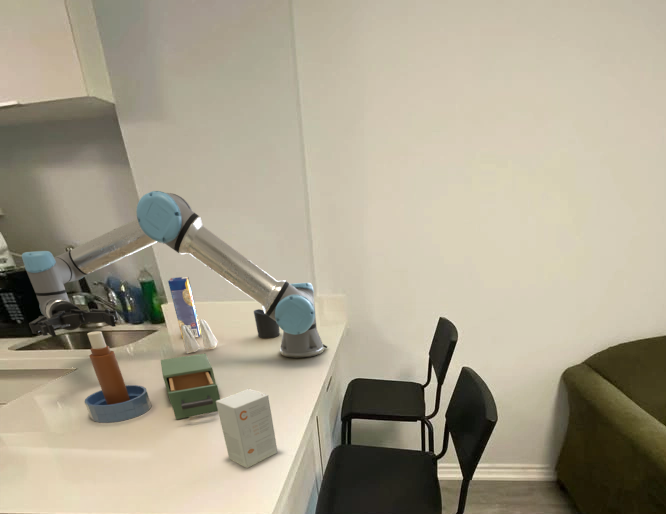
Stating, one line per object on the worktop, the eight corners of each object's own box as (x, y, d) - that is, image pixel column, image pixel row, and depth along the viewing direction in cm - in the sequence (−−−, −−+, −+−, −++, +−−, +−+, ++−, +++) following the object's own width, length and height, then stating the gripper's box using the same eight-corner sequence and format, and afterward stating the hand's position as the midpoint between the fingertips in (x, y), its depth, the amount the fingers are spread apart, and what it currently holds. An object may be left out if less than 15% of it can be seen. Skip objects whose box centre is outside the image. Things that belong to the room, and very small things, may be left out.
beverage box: (200, 331, 187) (188, 276, 176) (199, 336, 178) (186, 280, 167) (184, 332, 186) (170, 278, 174) (182, 338, 176) (168, 281, 165)
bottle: (137, 406, 113) (111, 329, 102) (125, 415, 108) (97, 335, 98) (118, 406, 113) (91, 329, 103) (105, 414, 109) (76, 335, 99)
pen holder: (270, 339, 170) (266, 313, 165) (252, 337, 174) (248, 311, 169) (285, 334, 177) (282, 308, 171) (268, 332, 181) (264, 307, 176)
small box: (259, 444, 93) (249, 387, 86) (278, 452, 89) (269, 394, 83) (228, 459, 88) (214, 400, 81) (247, 469, 84) (234, 408, 78)
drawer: (225, 416, 105) (219, 390, 101) (177, 426, 101) (169, 399, 97) (214, 392, 119) (209, 368, 116) (172, 399, 115) (165, 375, 112)
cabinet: (218, 397, 118) (212, 367, 114) (171, 405, 114) (162, 375, 110) (211, 380, 130) (205, 353, 126) (168, 387, 126) (160, 359, 122)
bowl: (162, 402, 116) (157, 385, 114) (131, 425, 104) (124, 406, 102) (114, 401, 118) (108, 384, 116) (79, 424, 106) (71, 405, 103)
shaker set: (218, 346, 164) (212, 316, 158) (219, 349, 160) (213, 319, 154) (185, 351, 160) (178, 320, 154) (186, 354, 157) (178, 323, 151)
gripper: (116, 320, 130) (139, 331, 116) (18, 336, 115) (31, 351, 102) (107, 294, 126) (131, 302, 112) (5, 307, 112) (17, 319, 98)
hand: (83, 325), depth 107 cm, fingers open, 13 cm apart
